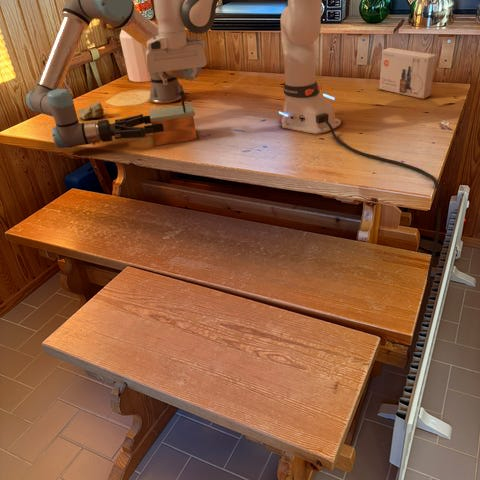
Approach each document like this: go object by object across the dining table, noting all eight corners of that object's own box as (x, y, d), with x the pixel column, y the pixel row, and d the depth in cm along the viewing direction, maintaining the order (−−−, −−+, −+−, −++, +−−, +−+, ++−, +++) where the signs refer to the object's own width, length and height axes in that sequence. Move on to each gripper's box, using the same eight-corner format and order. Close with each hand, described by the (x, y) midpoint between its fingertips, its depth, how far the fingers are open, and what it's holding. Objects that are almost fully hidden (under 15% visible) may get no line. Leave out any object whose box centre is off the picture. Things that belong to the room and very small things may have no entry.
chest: (194, 129, 174) (190, 107, 170) (196, 139, 167) (193, 115, 162) (154, 135, 173) (150, 113, 168) (155, 145, 165) (151, 122, 160)
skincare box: (377, 89, 194) (381, 50, 185) (385, 86, 197) (389, 47, 188) (423, 99, 180) (429, 56, 171) (430, 95, 183) (437, 53, 174)
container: (160, 81, 233) (149, 21, 217) (121, 82, 238) (108, 23, 222) (174, 69, 249) (165, 13, 233) (138, 70, 254) (126, 15, 238)
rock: (80, 117, 200) (78, 121, 191) (76, 102, 197) (75, 105, 188) (105, 114, 202) (105, 117, 193) (102, 99, 199) (101, 102, 190)
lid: (192, 107, 170) (188, 82, 165) (195, 115, 162) (191, 90, 157) (150, 113, 168) (145, 88, 163) (150, 122, 160) (145, 96, 155)
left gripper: (103, 130, 174) (162, 122, 177) (100, 153, 156) (166, 143, 159) (98, 111, 170) (159, 102, 173) (94, 132, 152) (162, 122, 155)
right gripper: (203, 34, 155) (207, 76, 163) (142, 41, 153) (149, 83, 161) (205, 38, 150) (210, 81, 158) (142, 45, 148) (150, 89, 156)
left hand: (162, 122), depth 166 cm, fingers closed on chest, 9 cm apart
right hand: (179, 82), depth 159 cm, fingers open, 8 cm apart
